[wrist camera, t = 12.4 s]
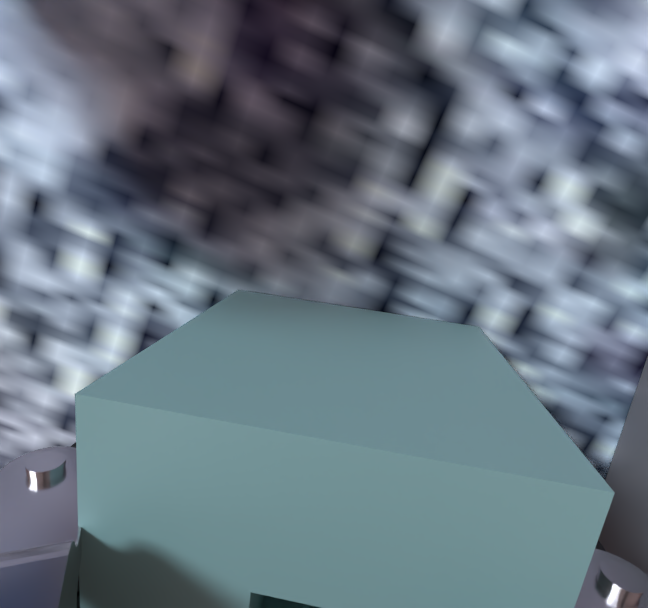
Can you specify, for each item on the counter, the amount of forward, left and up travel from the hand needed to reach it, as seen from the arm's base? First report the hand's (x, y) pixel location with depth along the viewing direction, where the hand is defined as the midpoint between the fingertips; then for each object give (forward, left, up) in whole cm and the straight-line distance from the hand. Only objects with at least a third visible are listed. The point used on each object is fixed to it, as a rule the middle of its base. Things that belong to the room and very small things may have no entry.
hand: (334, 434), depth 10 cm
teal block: (0, 0, -1) cm, 1 cm away
